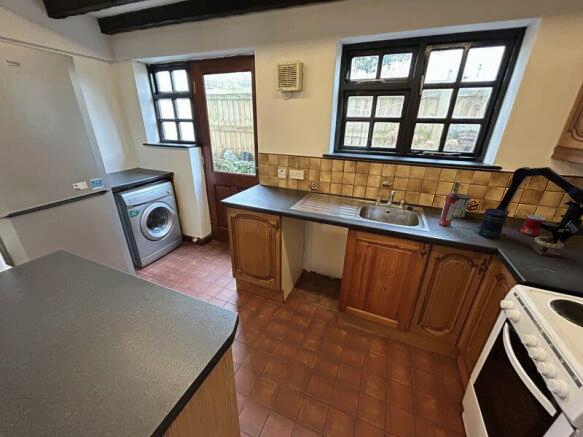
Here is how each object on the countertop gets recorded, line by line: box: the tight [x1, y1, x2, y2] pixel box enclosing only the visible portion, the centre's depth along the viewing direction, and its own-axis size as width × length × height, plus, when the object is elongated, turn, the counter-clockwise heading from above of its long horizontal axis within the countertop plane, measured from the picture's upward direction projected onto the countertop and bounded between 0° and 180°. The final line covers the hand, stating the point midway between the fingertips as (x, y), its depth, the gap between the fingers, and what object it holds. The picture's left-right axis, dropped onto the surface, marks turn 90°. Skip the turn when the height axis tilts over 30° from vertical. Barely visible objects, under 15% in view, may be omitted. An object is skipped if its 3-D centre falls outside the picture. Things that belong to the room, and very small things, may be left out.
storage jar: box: [478, 207, 507, 240], centre depth 138 cm, size 10×10×15 cm
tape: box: [533, 235, 565, 250], centre depth 125 cm, size 11×11×2 cm
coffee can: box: [453, 192, 472, 218], centre depth 167 cm, size 10×10×14 cm
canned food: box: [520, 214, 547, 237], centre depth 144 cm, size 8×8×11 cm
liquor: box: [438, 181, 461, 227], centre depth 148 cm, size 7×7×28 cm
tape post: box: [527, 236, 562, 258], centre depth 125 cm, size 9×9×8 cm
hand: (557, 243), depth 124 cm, fingers closed on tape, 2 cm apart
